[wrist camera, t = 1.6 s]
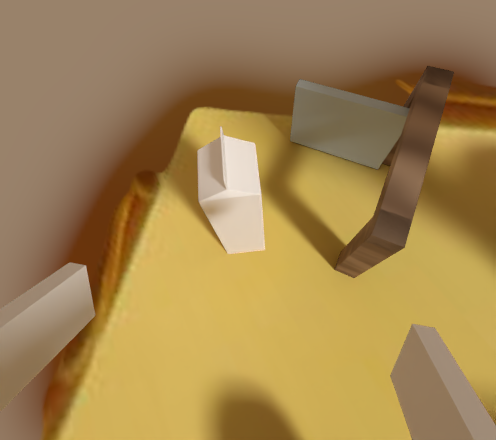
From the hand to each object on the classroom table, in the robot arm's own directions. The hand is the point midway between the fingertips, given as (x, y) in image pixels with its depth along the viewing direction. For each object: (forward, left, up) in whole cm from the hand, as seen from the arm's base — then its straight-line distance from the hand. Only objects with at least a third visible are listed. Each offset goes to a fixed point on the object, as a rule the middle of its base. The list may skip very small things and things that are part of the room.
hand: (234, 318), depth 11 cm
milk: (-2, -14, -29) cm, 33 cm away
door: (-23, -23, -29) cm, 44 cm away
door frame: (-23, -11, -29) cm, 39 cm away
